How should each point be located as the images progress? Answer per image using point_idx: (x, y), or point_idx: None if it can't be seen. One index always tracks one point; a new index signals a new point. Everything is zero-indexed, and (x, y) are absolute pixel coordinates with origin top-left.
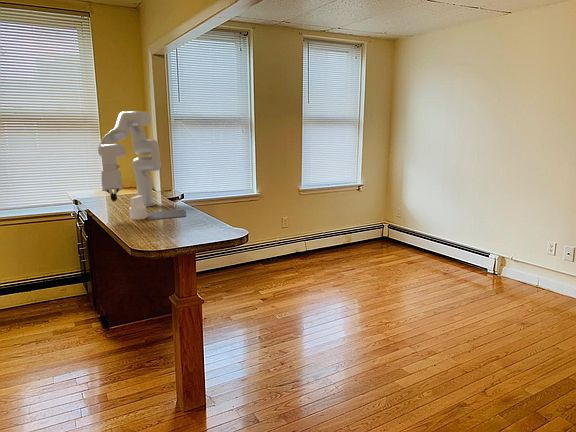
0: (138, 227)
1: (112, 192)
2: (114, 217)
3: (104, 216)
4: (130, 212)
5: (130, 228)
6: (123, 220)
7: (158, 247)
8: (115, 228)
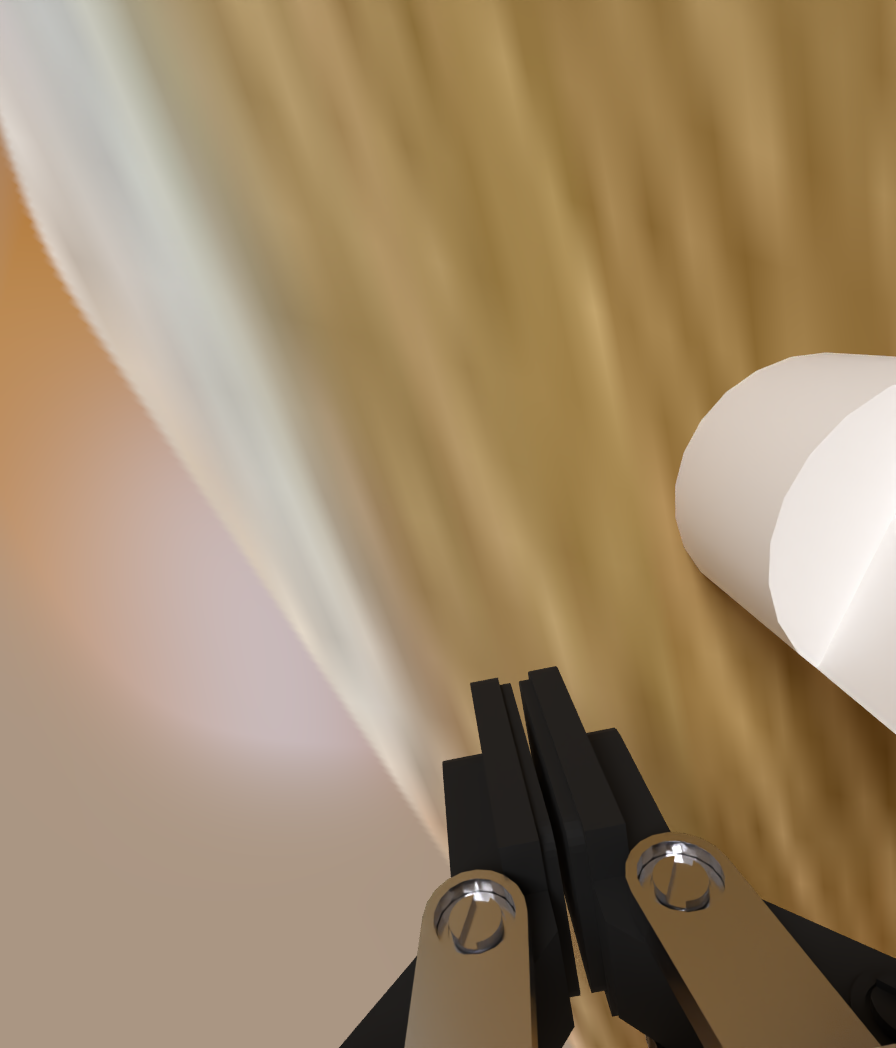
0: None
1: (547, 962)
2: (365, 339)
3: (103, 163)
4: (753, 614)
5: None
6: (596, 630)
7: None
8: (604, 1013)
